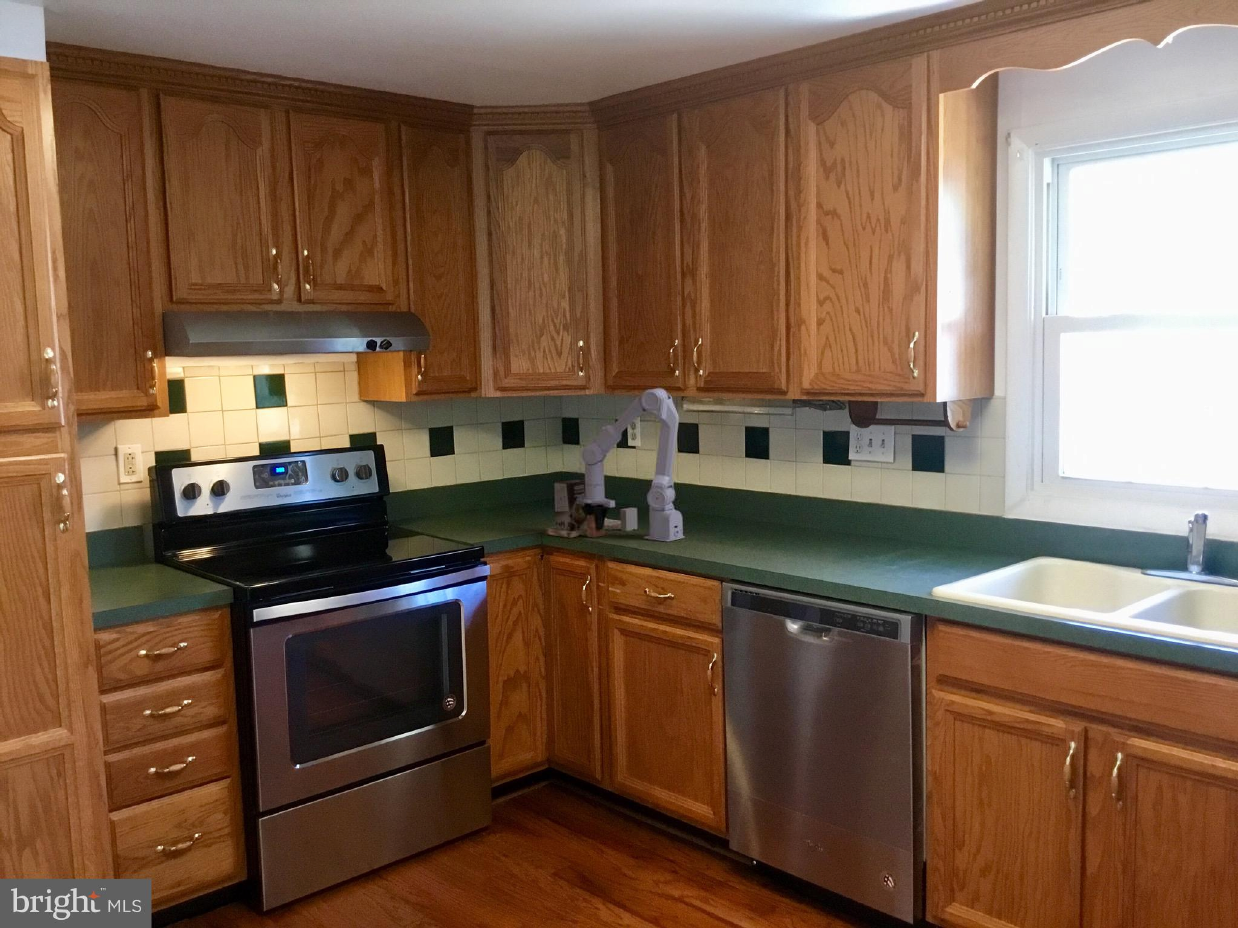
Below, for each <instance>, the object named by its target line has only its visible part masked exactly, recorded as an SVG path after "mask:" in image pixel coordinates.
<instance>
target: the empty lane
mask: <svg viewBox="0 0 1238 928" xmlns="http://www.w3.org/2000/svg"><path fill="white" fill-rule="evenodd" d="M619 512H620V514H619V515H620V520H615V519H608V518H607V517H606V518H605V529H607V530H606V531H612V529H614V530H619V529H621V530H620V531H623V532H629V531H634V530H633V529H635V530H638V528H639V527H638V508H637V507H626V508H623V509H619Z"/></svg>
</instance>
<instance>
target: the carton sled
mask: <svg viewBox="0 0 1238 928" xmlns="http://www.w3.org/2000/svg"><path fill="white" fill-rule="evenodd" d="M545 535H551V536H556V537H557V536H558V537H563V538H570V539H571V538H574V537H580V536H579V535H581V536H585V535H586V537H588V538H597V537H602V536H605V535H606V530H605V521H604V525H603V529H602V530H596V523H595V516H594V514H591V515H587V528H586V529H581V530H576V531H571V532H567V531H560V530H556V526H551V527H546V528H545Z"/></svg>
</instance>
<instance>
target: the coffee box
mask: <svg viewBox="0 0 1238 928" xmlns="http://www.w3.org/2000/svg"><path fill="white" fill-rule="evenodd" d="M578 497H586V493H585V479H570V480H565V481H557V482H554V514H555V515H554V517H555V519H554V520H555V521H554V522H555V526H556V530H560V531H567V532H571V531H576V530H581V529H586V528H587V519H586V516H585V514H584V512H583V511H582V509H581V507H582V506H584V504H577V498H578ZM555 526H554V527H555Z"/></svg>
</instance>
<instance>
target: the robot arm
mask: <svg viewBox="0 0 1238 928" xmlns="http://www.w3.org/2000/svg"><path fill="white" fill-rule="evenodd" d="M647 412H649V413H651V414H652V415H653V416H654V417H655V418H656V419H657V420H658V421H659V422H660V427H659V428H660V430H659V437H658V446H657V453H656V454H657V456H656V463H655V472H654V473H655V474H654V477H653V479H652V482H651V486H650V489H649V491H648V493H647V495H646V500H647V503H648V506H649V507H648V508H649V509H648V510H649V535H646V536H643V539H645V540H646V539H648V540H652V541H653V540H654V541H661V542H672V541H676V540H681V539H685V536H684V530H683V529H684V527H683V524H684V523H683V515H682V513H681V512H680V511H679V510H676V509H675V506H674V504H673V502H674V500H675V498H676V491H675V488H674V484H675V481H674V479H673V471H674V464H675V463H674V462H675V456H676V455H675V453H676V446H677V439H678V438H677V437H678V429H679V424H680V423H679V421H680V415H679V414H678V412H677V408H676V406H675V404H674V401H673V397H672V395H671V394H669V393H668V392H667V391H666V390H665V389H664V388H661V387H656V388H653V389H646V390H645V391H643V392H642V393H641V395H639V396H638V397H637V398H636V399H635V400H633V402H632V403H631V404H630V406H629V407H628V408H626V410H625V411H624V412H623V413H622V415H621V416H620V417H619V418H618V419H617V420H616V421H615V423H614V424H613V425H611V424H610V425H609V424H607V425H606V426H603V427H602V428H601V429H600V431H601V432H600V433H598V435H597V436H596V437H595V438H592V439H591V440H590V443H591V444H588V445H585V446H584V447H583V449H582V451H581V459H582V461H583V462H584V480H585V493H586V497H578V498H577V504H584V506H582V507H581V509H582V511H583V512H584V514H585V516H586V519H587V515H591V514H594V516H595V523H596V530H602V529H603V525H604V521H605V518H606V519H607V516H608V515H607V514H608V512H609V511H610V508H615V507H616V500H613V499H609V498H605V497H606V496H605V494H606V493H605V468H604V461H605V459H606V457H607V454H609V452H610V451H611V450H613V448H614V447H616V445H617V444H618V443H619V442H620V441H621V440H622V434H623V431H624V430H625V429H626V428H628V426H629V425H630V424H632V423H633V422H634V421H635V420H636V419H637V418H638V417H639V416H640V415H641V414H643V413H644V414H645V413H647Z"/></svg>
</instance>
